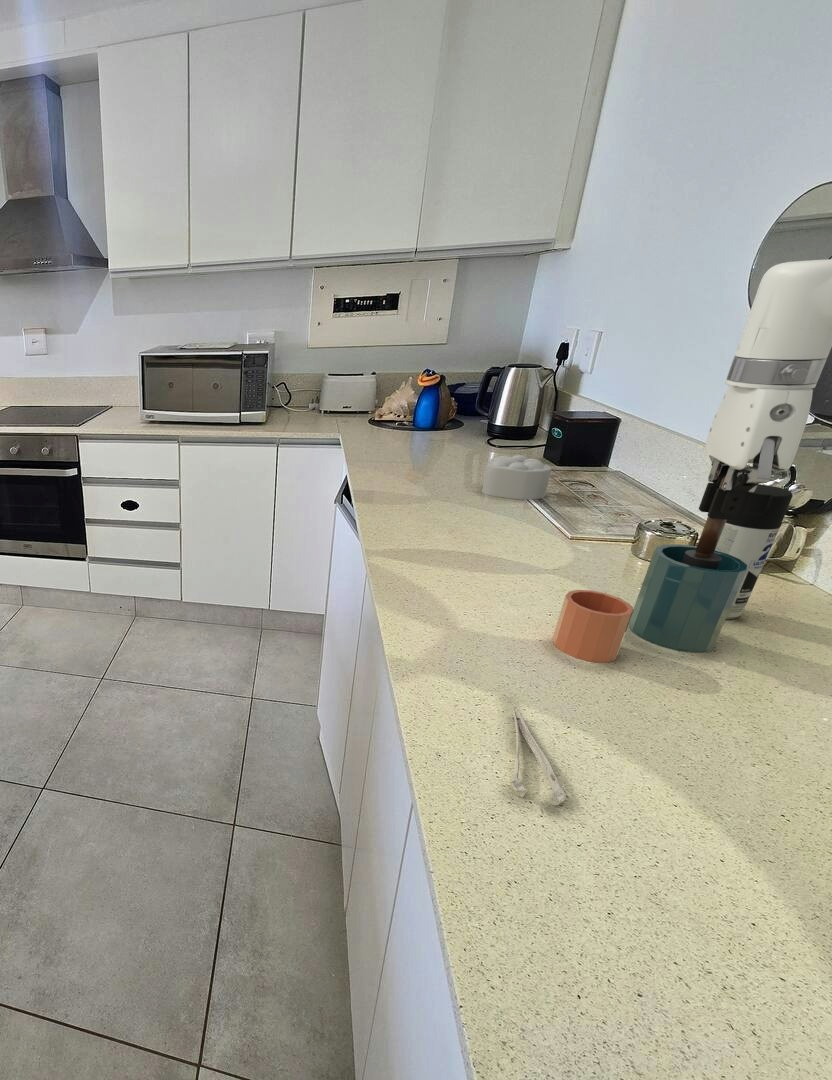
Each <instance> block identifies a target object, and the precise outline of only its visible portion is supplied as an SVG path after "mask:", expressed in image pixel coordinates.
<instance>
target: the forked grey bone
mask: <svg viewBox="0 0 832 1080" xmlns="http://www.w3.org/2000/svg"><path fill="white" fill-rule="evenodd" d="M512 713H513V720H514V721H513V722H514V729H515V754H516V755H515V769H514V772H513V774H512V775H511V777H510V784H511V787H512V789H513V791H514V792H515V794H516V796H518V797H520V798H524V797H525V795H526V793H528V792H529V790H528V789H527V788H525V786H524V785H523V783H522V782H521V780H520V779H519V773H520V766H521V765H520V764H521V763H520V762H521V761H520V732H521V734H522V736H523V738H524V740H525V741H526V743H527V745H528V747H529V748H530V749H531V751H532V753H533V755H534V756H535V758H536V760H537V761H538V763H539V766H540V768H541V770H542V772H543V775H544V777H545V778H546V780H547V781H548V784H549V785H550V788H551V789H552V792H551V795H549V798H550V805H551V806H559V805H561V803H564V801H565V800H566V797H567V794H566V792H565V789H564V787H562V785H561V784H560V781H559V780H558V778H557V776H556V775H555V772H554V769H553V767H552V765H551V763H550V761H549V760H548V758H547V757H546V754H545V753H544V752H543V750H542V749H541V747H540V746H539V744H538V742H537V741H536V740H535V738H534V737H533V734H532V733H531V731H530V729H529V728H528V726H527V723H526V722H525V720H524V719H523V717H522V714H521V713H520V711H519V709H518V708H517V714H518V716H519V717H517V714H516V711H515V706H512ZM552 776H553V778H554V779H553V778H552Z"/></svg>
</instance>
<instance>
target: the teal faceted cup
mask: <svg viewBox="0 0 832 1080" xmlns="http://www.w3.org/2000/svg"><path fill="white" fill-rule="evenodd" d="M696 547H697V545H690V544H689V545H688V544H679V543H678V544H673V543H672V544H661V545H658V546H655V548H654V551H653V554H652V556H651V558H650V561H649V564H648V567H647V570H646V573H645V575H644V578H643V581H642V583H641V586H640V590H639V593H638V595H637V597H636V601H635V604H634V606H633V609H634V611H633V614H632V616H631V619H630V622H629V625H628V629H629V630H630V631H631V633H633V634H634V635H635V636H636V637H638V638H640V639H642V640H643V641H645V642H648V643H650V644H653V645H656V646H659V647H662V648H664V649H667V650H668V649H669V650H672V651H677V652H683V653H694V654H699V653H706V652H710V651H711V650H713V648H714V647H715V645H716V643H717V640H718V638H719V636H720V633H721V631H722V629H723V626H724V624H725V621H726V620H727V619H726V617H727V615H728V613H729V610H730V608H731V606H732V603H733V601H734V599H735V597H736V594H737V592H738V590H739V587H740V585H741V583H742V580H743V578H744V576H745V574H746V571H747V564H745V563H744V562H743V561H742V560H740V559H738V558H736V557H734V556H731V555H729V554H726V553H722V552H719V551H714V554H716V555H718V556H720V557H721V562H720V564H719V567H718V569H717V570H714V569H705V568H700V567H695V566H691V565H687V564H684V563H681V562H682V559H683V557H684V554H685V552H686V551H688V550H696Z"/></svg>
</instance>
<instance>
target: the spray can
mask: <svg viewBox="0 0 832 1080" xmlns="http://www.w3.org/2000/svg"><path fill="white" fill-rule="evenodd" d="M793 495H794V494H793V493H792V492H791V491H790V490H787V489H785V488H782V487H779V486H772V485H766V484H762V483H760V484H758V485H757V487H756V490H755V491H754V492H752V494H751V496H750V499H749V501H748V504H747V506H746V509H745V511H744V514H743V516H742V518H741V519H740V520H727V521H726V523H725V526H724V528H723V531H722V533H721V536H720V539H719V541H718V544H717V546H716V549H715V551H719V552H722V553H726V554H729V555H731V556H734V557H736V558H738V559H740V560H742V561H743V562H744V563H745V564H747V571H746V574H745V576H744V578H743V580H742V583H741V585H740V587H739V590H738V592H737V594H736V597H735V599H734V601H733V603H732V606H731V608H730V610H729V613H728V615H727V617H726V620H734V619H738V618H739V617H741V615H743V613H744V611H745V608H746V606H747V604H748V601H749V600H750V597H751V595H752V593H753V590H754V588H755V585H756V584H757V581H758V578H759V576H760V574H761V572H762V570H763V567H764V565H765V563H766V561H767V558H768V556H769V553H770V551H771V549H772V546H773V545H774V542H775V540H776V537H777V535H778V533H779V532H780V528H781V527H782V524H783V521H784V519H785V517H786V514H787V512H788V509H789V506H790V504H791V502H792V499H793Z"/></svg>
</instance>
